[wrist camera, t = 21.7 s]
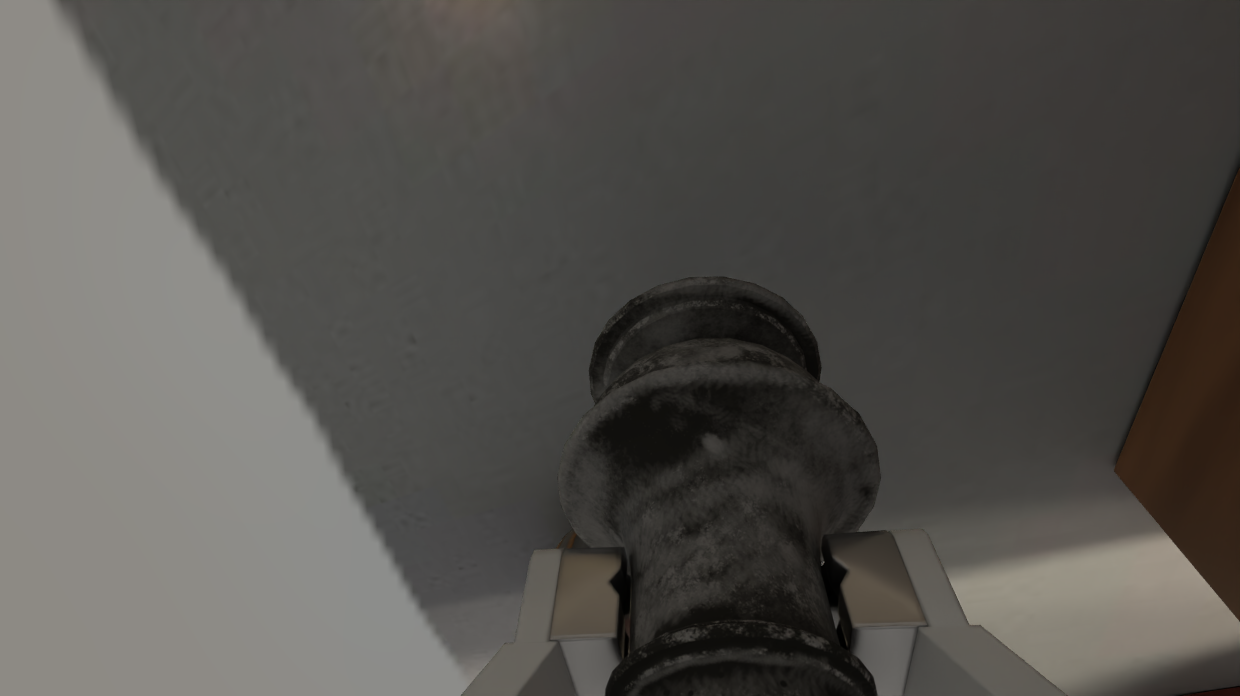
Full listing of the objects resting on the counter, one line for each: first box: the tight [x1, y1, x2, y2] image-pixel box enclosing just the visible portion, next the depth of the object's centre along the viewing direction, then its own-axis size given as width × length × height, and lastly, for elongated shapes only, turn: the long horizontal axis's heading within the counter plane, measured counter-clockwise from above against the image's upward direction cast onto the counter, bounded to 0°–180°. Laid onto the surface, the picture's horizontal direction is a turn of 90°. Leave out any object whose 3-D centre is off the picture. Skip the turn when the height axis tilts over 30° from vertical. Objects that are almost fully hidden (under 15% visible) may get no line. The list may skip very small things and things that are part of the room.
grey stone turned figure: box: [557, 277, 881, 696], centre depth 10 cm, size 6×6×12 cm
